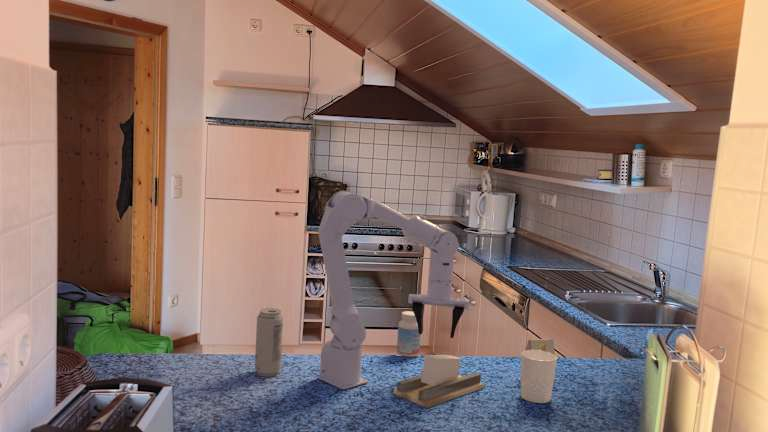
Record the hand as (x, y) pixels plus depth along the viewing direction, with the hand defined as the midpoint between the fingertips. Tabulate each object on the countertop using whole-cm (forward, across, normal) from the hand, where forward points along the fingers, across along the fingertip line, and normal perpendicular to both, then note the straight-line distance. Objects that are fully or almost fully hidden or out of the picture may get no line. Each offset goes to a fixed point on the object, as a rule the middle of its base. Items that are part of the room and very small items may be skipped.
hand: (436, 335), depth 157 cm
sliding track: (+10, +2, -9) cm, 14 cm away
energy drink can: (+11, -38, -12) cm, 41 cm away
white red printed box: (+11, +25, +9) cm, 28 cm away
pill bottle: (+11, -9, +16) cm, 21 cm away
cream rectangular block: (+8, +2, -10) cm, 13 cm away
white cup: (+11, +24, -5) cm, 27 cm away
